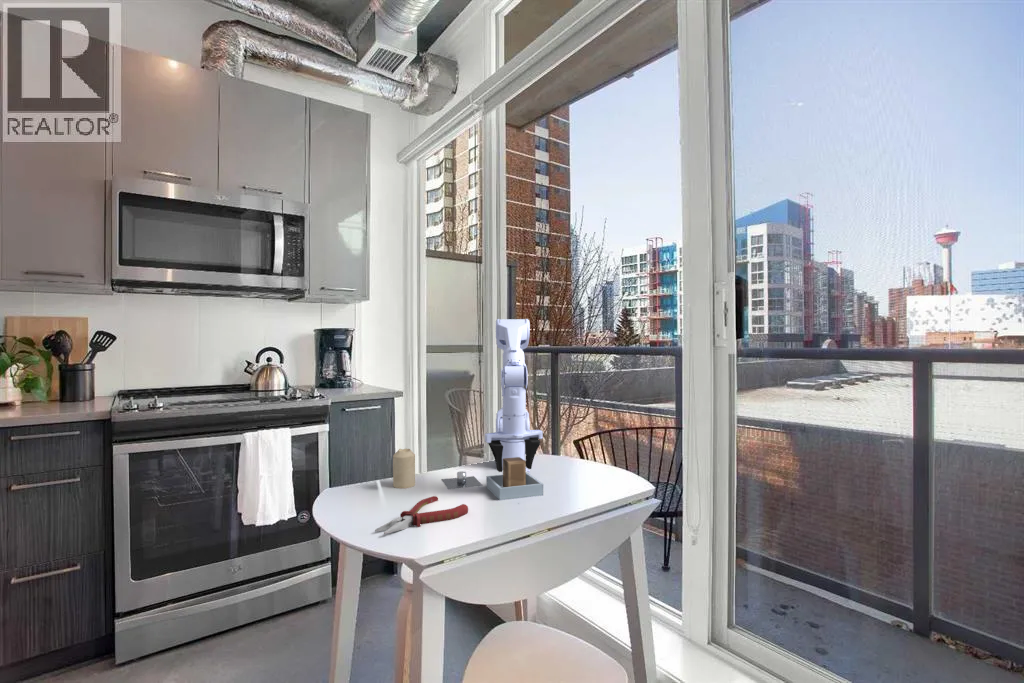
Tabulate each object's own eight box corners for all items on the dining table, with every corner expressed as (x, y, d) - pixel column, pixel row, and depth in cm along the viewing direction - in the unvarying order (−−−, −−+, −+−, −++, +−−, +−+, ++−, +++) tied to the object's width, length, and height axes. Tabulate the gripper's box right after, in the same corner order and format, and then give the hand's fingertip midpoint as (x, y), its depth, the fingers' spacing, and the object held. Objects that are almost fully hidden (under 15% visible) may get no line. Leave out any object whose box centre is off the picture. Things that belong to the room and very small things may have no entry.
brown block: (502, 490, 124) (502, 458, 123) (519, 488, 125) (519, 457, 125) (508, 495, 119) (508, 462, 119) (525, 493, 121) (525, 461, 121)
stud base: (441, 482, 132) (441, 469, 132) (473, 479, 135) (473, 467, 135) (448, 492, 124) (448, 478, 124) (482, 488, 127) (482, 475, 127)
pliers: (361, 531, 100) (361, 518, 100) (434, 504, 116) (434, 493, 116) (399, 545, 93) (399, 532, 93) (470, 515, 109) (470, 503, 109)
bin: (486, 489, 126) (486, 476, 126) (526, 485, 129) (526, 472, 129) (499, 503, 115) (499, 488, 115) (543, 498, 119) (543, 484, 119)
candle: (402, 492, 123) (402, 452, 123) (388, 488, 127) (388, 449, 127) (419, 487, 128) (419, 448, 128) (405, 483, 131) (405, 446, 131)
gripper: (490, 418, 116) (490, 476, 116) (547, 415, 121) (547, 470, 121) (482, 414, 123) (482, 468, 123) (536, 411, 127) (536, 463, 128)
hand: (514, 469), depth 122 cm, fingers open, 7 cm apart
